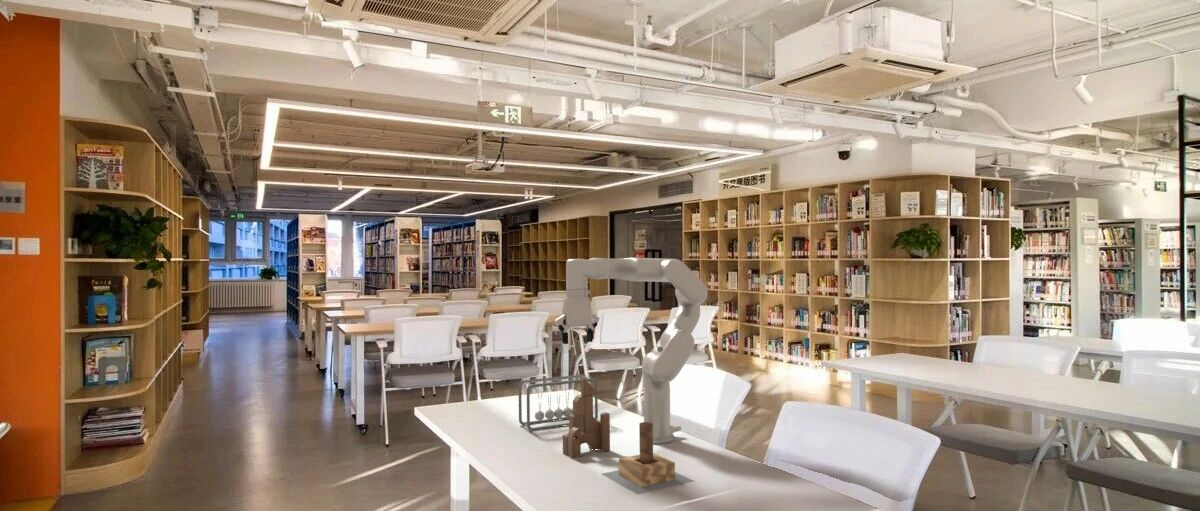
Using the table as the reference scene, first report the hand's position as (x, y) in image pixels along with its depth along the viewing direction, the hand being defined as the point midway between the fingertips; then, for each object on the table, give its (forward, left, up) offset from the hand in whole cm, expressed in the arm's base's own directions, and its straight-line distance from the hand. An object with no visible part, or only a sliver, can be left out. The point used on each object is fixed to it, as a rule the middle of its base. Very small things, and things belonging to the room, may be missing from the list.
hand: (577, 342), depth 234 cm
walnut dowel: (-1, +41, -36) cm, 54 cm away
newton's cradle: (-8, -31, -37) cm, 49 cm away
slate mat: (-1, +41, -36) cm, 55 cm away
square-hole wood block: (-1, +41, -36) cm, 54 cm away
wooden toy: (+1, +8, -37) cm, 37 cm away
